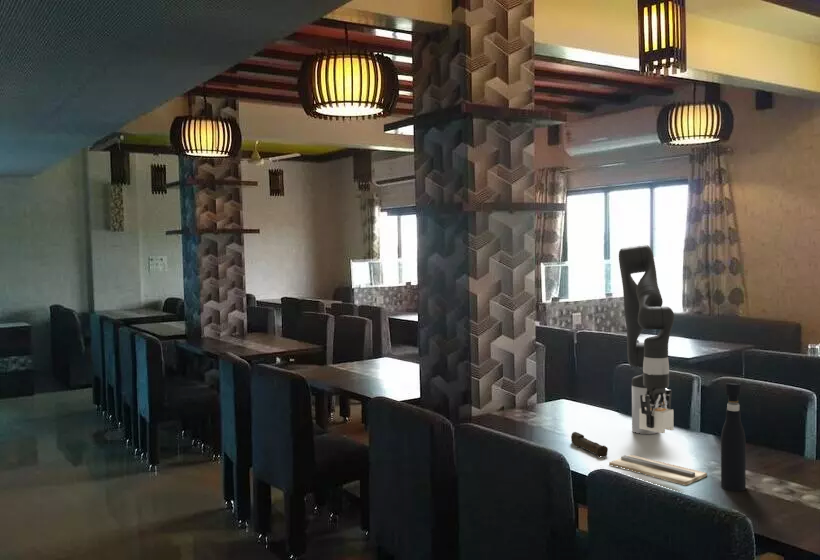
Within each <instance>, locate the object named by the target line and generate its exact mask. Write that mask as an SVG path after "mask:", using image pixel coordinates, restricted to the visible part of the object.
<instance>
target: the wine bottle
mask: <svg viewBox="0 0 820 560" xmlns="http://www.w3.org/2000/svg"><path fill="white" fill-rule="evenodd" d="M741 389H742V386H741V382H735V381H734V382H733V381H731V382H730V381H729V382H726V383H725V395H727V397H728V398H727V399H728V400H727V401H728V402H727V405H726V406H727V407H726V410H725V421H724V424H723V427H722V430H721V435H720V480H721V482H720V484H721V485H720V487H721V488H722V489H724V490H728V491H731V492H743V491H745V490H746V489H747V488H746V487H747V486H746V481H747V480H746V479H747V478H746V469H747V468H746V465H747V464H746V463H747V462H746V461H747V459H746V456H747V455H746V453H747V452H746V451H747V450H746V449H747V447H746V442H747V441H746V440H747V439H746V434H745V429H744V426H743V423H742V421H741V417H742V416H741V410H740V407H741V405H740V403H739V396H741V395H742V394H741V393H742V390H741Z"/></svg>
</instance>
